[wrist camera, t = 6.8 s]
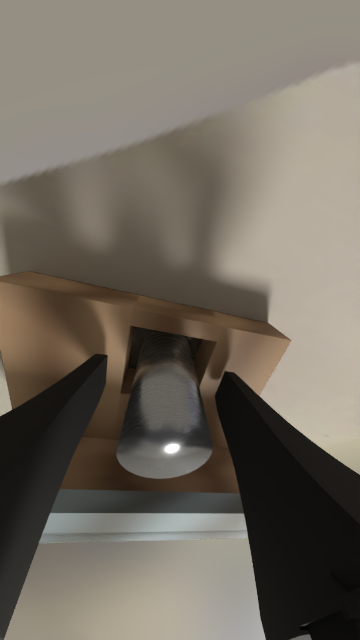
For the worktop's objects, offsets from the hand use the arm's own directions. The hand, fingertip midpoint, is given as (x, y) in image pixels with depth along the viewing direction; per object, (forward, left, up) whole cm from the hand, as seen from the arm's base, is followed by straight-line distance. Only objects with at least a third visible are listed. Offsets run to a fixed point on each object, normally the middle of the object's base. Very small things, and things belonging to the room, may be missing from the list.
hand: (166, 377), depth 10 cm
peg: (0, 0, -3) cm, 3 cm away
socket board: (+1, +2, -3) cm, 4 cm away
